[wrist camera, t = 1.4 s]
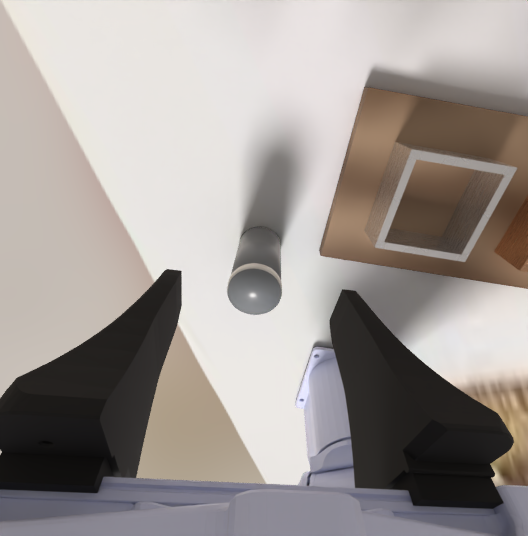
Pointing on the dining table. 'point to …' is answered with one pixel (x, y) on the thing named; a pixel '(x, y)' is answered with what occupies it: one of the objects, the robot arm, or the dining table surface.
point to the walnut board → (427, 182)
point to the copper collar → (516, 240)
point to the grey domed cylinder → (256, 272)
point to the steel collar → (464, 217)
